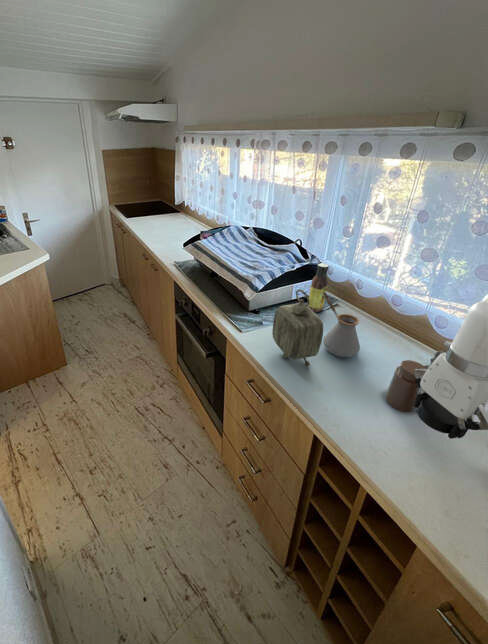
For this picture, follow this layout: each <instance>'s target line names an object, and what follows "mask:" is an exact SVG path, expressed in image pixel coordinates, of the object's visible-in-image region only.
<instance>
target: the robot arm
mask: <svg viewBox="0 0 488 644" xmlns="http://www.w3.org/2000/svg"><path fill="white" fill-rule="evenodd" d="M443 346H444V347H446V350H445V353H441V354H440V355H439V356H438V357H437V358H436V359H435V361H434V362H433V363H432V364H431V366H430V367H429V368H428V369H415V370H414V373H415V377H416V384H417V386H418V389H417V392H418V395H417V397H416V399H415V401H416V402H415V404H414V407H415V409H417V408H418V406H419V405H420V403H421V401H422V399H423V398H425V397H432V398H434V399H435V400H436V401H437V402H438V403H440V404H441V405H442V406H443V407H445V408H446V409H447V410H448V411H449V412H451V413H452V414H453V415H455V416H456V417H457V418H458V423H457V424H455V425H454V426H453V427H452V429H451V431H450V432H449V434H447V437H448V438H449V439H450V440H452V439H453V440H454V439H456V438H457V439H463V438H464V437H465V435H466V434H467V433H468V431H469V430H471V431H488V412H487V409H486V408H485V407H486V405H487V403H488V293H486V295H485V296H484V297H483V298H482V299H481V301H478V302H476V303H474V304H473V305H471V307H470V308H469V309H468V311H467V314H466V315H465V317H464V319H463V320H462V322H461V325H460V327H459V329H458V330H457V332H456V334H455V335H454V338H453V340H452V341H450V340H445V342H443ZM475 416H477V418H478V420H479V421H475Z"/></svg>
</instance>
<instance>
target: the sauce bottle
mask: <svg viewBox="0 0 488 644" xmlns="http://www.w3.org/2000/svg"><path fill="white" fill-rule="evenodd" d="M329 266H330V265H328V264H327V263H321V262H320V263H318V264H317V267H316V269H317V270H316V274H315V275H314V277H313V278H312V279H311V285H310V289H309V293H308V294H309V295H308V297H309V301H310V303H309V305H308V307H309V308H310V309H311V310H312V311H313V312H314V313H317V312H319V313H320V312H321V311H322V310H323V307H324V305H325V301H326V298H325V295H324V294H323V292H326V293H327V292H328V286H329V283H328V282H329V281H328V270H329ZM321 293H322V294H321ZM320 294H321V295H323V296H321V295H320ZM307 304H308V302H306V305H307Z"/></svg>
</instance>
